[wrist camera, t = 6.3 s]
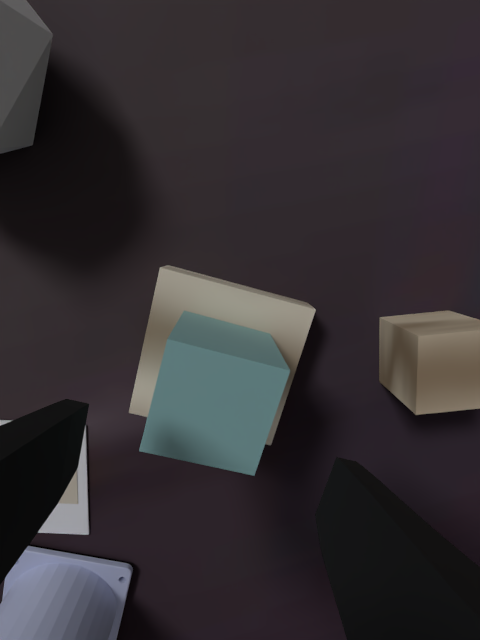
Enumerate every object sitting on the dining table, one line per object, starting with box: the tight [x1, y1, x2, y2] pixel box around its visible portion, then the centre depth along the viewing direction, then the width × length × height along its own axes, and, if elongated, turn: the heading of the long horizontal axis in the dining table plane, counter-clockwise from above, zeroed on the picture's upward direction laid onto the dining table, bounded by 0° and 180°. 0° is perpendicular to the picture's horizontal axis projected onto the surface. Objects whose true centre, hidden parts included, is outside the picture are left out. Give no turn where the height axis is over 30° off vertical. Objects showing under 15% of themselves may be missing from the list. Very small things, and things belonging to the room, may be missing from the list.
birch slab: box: [129, 265, 316, 445], centre depth 18 cm, size 8×8×2 cm
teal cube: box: [139, 311, 290, 476], centre depth 14 cm, size 4×4×5 cm
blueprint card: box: [0, 420, 89, 535], centre depth 20 cm, size 8×6×1 cm
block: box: [379, 311, 480, 415], centre depth 17 cm, size 4×4×4 cm
